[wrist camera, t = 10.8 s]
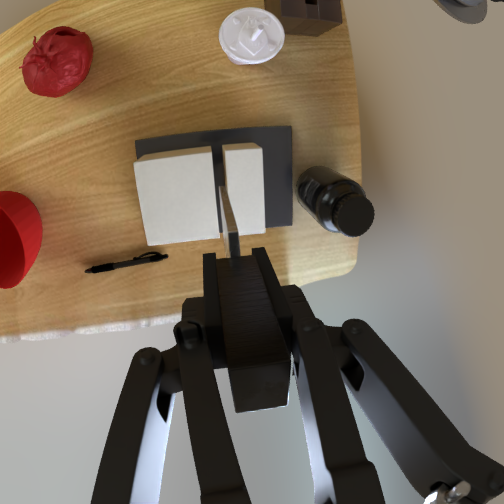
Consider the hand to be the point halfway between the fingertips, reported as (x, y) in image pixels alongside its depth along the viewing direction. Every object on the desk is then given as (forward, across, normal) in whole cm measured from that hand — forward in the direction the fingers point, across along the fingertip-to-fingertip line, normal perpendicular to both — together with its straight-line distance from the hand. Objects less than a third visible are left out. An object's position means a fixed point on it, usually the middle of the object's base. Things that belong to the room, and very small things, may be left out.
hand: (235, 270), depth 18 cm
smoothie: (+23, +4, +17) cm, 29 cm away
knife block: (+23, +11, +26) cm, 36 cm away
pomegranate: (+23, -19, +20) cm, 36 cm away
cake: (+23, -5, 0) cm, 23 cm away
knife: (+9, 0, 0) cm, 9 cm away
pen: (+23, -15, -10) cm, 29 cm away
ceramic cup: (+23, -33, -1) cm, 40 cm away
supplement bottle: (+23, +14, -2) cm, 27 cm away
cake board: (+23, 0, 0) cm, 23 cm away
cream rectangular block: (+22, +3, 0) cm, 22 cm away
